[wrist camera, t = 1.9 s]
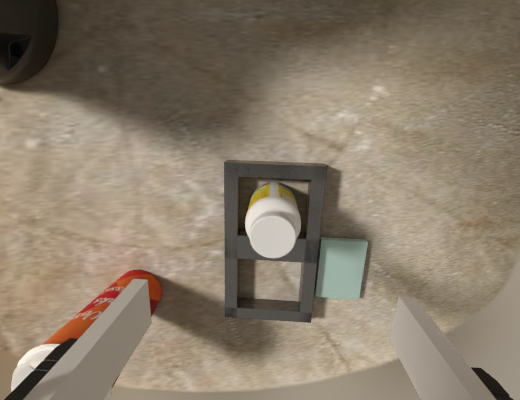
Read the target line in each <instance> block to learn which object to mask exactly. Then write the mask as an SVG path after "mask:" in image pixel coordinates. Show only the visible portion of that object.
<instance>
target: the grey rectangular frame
mask: <svg viewBox="0 0 520 400" xmlns="http://www.w3.org/2000/svg"><path fill="white" fill-rule="evenodd" d="M326 170H327V166H326V165H324V164H317V163H292V162H266V161H241V160H227V161H225V162H224V201H225V317H233V318H248V319H264V320H279V321H294V322H309V323H311V316H312V306H313V296H314V287H315V277H316V267H317V258H318V248H319V238H320V229H321V219H322V209H323V199H324V190H325V180H326ZM240 177H258V178H281V179H305V180H309V184H308V196H307V208H306V220H305V231H304V232H300V233H299V235H298V237H297V239H296V242H295V245H294V247H293V248H292V250H291V251H290V252H289V253H288V254H286V255H285V256H282V257H280V258H267V257H264V256H261V255H260V254H258V253H257V252H256V251H255V250H254V249H253V247H252V245H251V243H250V238H249V237H248V235H247V233H246V229H240ZM239 259H253V260H271V261H289V262H302V267H301V278H300V290H299V302H295V301H279V300H263V299H247V298H239Z"/></svg>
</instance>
